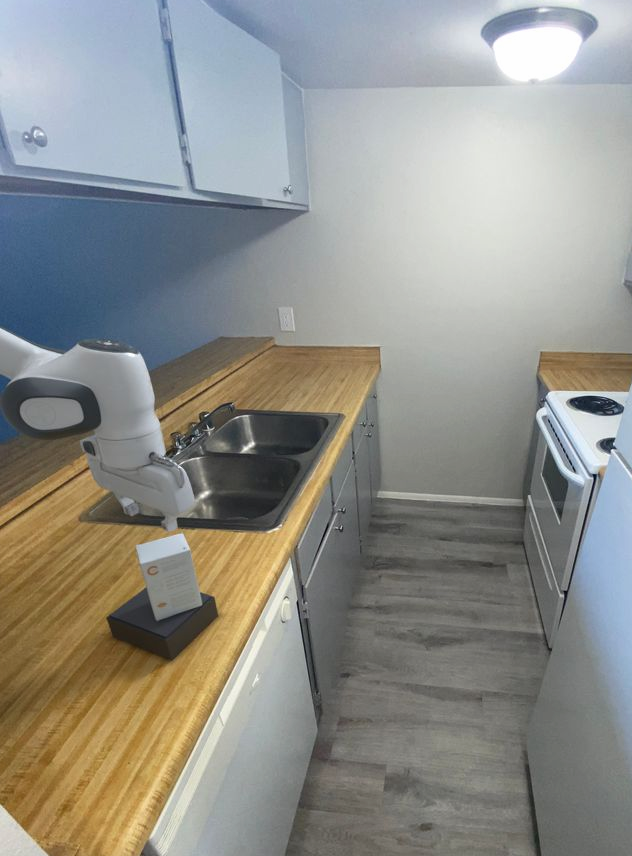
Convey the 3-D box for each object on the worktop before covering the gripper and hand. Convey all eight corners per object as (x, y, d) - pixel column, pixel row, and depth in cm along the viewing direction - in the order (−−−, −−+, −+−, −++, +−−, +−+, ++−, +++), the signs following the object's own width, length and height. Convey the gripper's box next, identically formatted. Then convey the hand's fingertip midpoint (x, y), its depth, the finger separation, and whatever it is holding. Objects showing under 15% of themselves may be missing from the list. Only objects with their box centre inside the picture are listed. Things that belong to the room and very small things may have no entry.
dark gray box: (112, 637, 88) (105, 615, 85) (163, 596, 98) (158, 576, 95) (171, 661, 83) (165, 639, 81) (218, 616, 93) (214, 595, 91)
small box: (195, 586, 93) (183, 531, 87) (203, 606, 88) (191, 549, 82) (150, 601, 89) (134, 544, 83) (155, 622, 84) (139, 564, 78)
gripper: (197, 454, 72) (210, 529, 78) (110, 427, 80) (128, 497, 86) (161, 470, 67) (178, 549, 73) (72, 439, 75) (95, 513, 81)
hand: (151, 521), depth 80 cm, fingers open, 8 cm apart
